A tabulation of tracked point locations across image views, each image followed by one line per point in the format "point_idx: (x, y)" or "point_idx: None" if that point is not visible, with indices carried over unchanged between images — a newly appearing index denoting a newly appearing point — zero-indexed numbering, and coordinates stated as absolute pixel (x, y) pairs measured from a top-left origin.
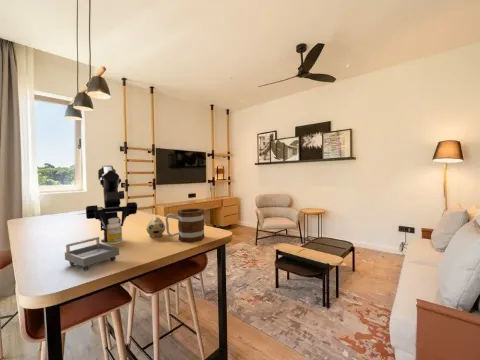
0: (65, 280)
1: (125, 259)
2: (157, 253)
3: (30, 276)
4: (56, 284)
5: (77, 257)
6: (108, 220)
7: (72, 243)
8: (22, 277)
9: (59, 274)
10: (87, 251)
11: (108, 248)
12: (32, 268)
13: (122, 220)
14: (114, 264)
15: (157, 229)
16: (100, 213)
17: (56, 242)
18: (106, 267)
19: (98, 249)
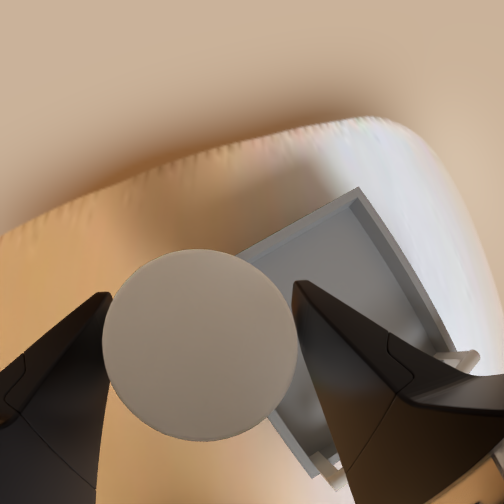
0: (376, 180)
1: None
2: (23, 292)
3: (479, 285)
4: (390, 165)
5: (391, 238)
6: (289, 316)
7: (461, 370)
8: (492, 288)
9: (413, 252)
10: None
11: None
12: (493, 367)
13: (74, 321)
14: (216, 248)
15: None
16: (489, 382)
17: None
18: (251, 228)
19: (311, 415)
